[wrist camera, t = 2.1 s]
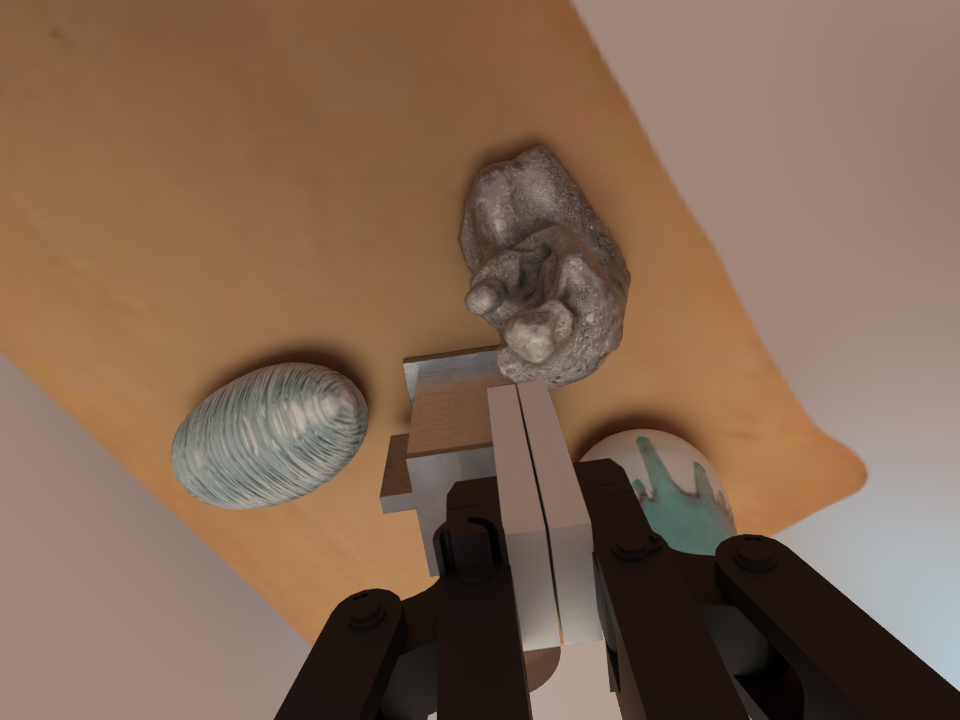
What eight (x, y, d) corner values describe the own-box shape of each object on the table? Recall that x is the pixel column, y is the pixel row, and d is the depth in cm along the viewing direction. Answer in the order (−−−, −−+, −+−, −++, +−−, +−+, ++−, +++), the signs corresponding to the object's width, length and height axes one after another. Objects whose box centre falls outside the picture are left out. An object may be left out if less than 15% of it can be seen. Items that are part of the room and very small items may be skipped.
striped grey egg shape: (219, 530, 51) (175, 544, 41) (179, 413, 52) (127, 399, 42) (389, 463, 53) (386, 461, 44) (348, 352, 54) (335, 326, 45)
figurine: (471, 132, 45) (481, 153, 28) (642, 156, 46) (753, 191, 29) (447, 321, 49) (445, 436, 32) (604, 339, 50) (679, 460, 33)
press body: (384, 361, 50) (360, 451, 38) (537, 339, 50) (565, 421, 37) (407, 477, 54) (393, 594, 41) (550, 456, 54) (580, 567, 41)
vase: (720, 499, 56) (835, 671, 39) (592, 555, 57) (650, 743, 41) (669, 385, 52) (773, 522, 35) (534, 449, 53) (570, 609, 37)
